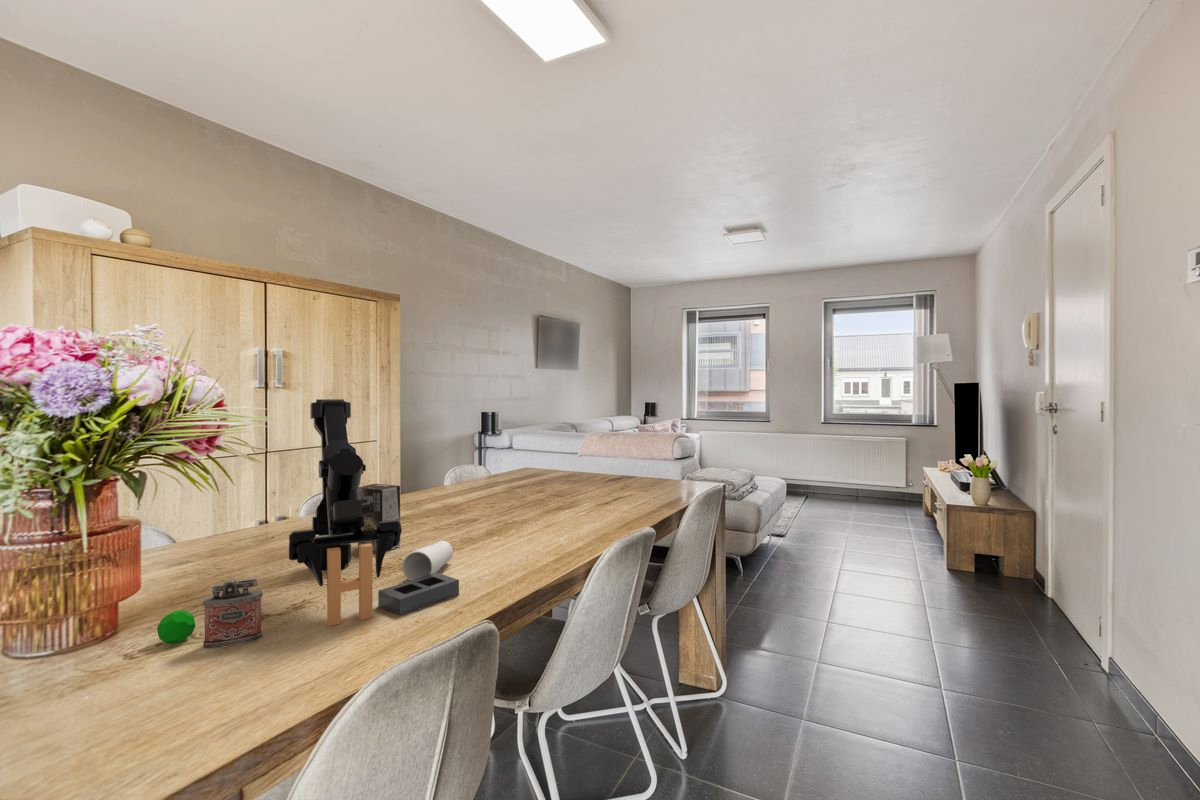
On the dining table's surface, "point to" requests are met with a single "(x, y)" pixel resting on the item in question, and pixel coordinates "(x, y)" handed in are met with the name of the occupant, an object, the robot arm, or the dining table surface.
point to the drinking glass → (426, 560)
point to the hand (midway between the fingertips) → (350, 580)
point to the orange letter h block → (349, 583)
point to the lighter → (232, 614)
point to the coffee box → (381, 506)
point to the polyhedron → (176, 626)
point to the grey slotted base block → (418, 593)
